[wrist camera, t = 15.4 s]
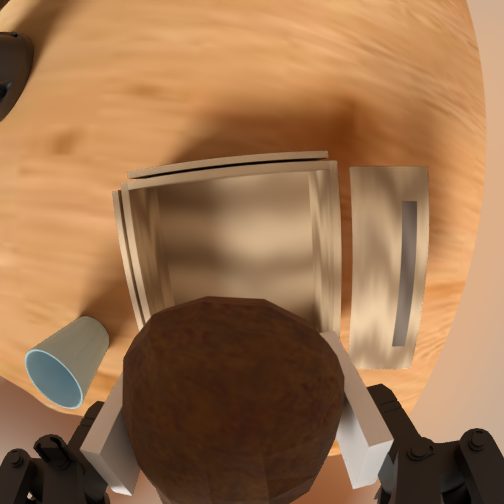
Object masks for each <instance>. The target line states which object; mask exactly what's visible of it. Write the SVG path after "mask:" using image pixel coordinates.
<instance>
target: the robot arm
mask: <svg viewBox="0 0 504 504" xmlns="http://www.w3.org/2000/svg"><path fill="white" fill-rule="evenodd" d="M9 1H10V0H0V11H1V9H2V8H3V7H4V6H5V5H6V4H7V3H8V2H9ZM32 60H33V44H32V42H31V40H30V39H29V38H28V37H26V36H24V35H23V34H21V33H18V32H0V121H1V120H2V119H3V118H4V117H5V116H6V115H7V114H8V112H9V111H10V110H11V108H12V107H13V105H14V104H15V102H16V101H17V99H18V97H19V95H20V93H21V91H22V89H23V87H24V85H25V83H26V80H27V78H28V75H29V72H30V69H31V65H32ZM319 334H320V335H321V336H322V337H323V338H324V339H325V340H326V341H327V342H328V343H329V345H330V346H331V348H332V349H333V351H334V352H335V353H336V355H337V357H338V360H339V362H340V365H341V368H342V371H343V374H344V377H345V380H344V401H343V408H342V413H341V418H340V423H339V426H338V430H337V433H336V437H337V440H338V443H339V447H340V450H341V453H342V456H343V459H344V461H345V465H346V468H347V471H348V474H349V477H350V480H351V483H352V486H353V489H356V488H360V487H363V486H367V485H370V484H374V483H375V481H376V479H377V477H379V480H380V482H381V486H380V488H379V490H378V492H377V493H376V496H375V498H374V499H377V498H378V501H377V504H504V457H503V456H502V454H501V452H500V450H499V448H498V446H497V444H496V443H495V441H494V439H493V437H492V436H491V435H490V433H489V432H488V431H486V430H483V429H479V428H475V429H470V430H468V431H467V432H465V433H464V434H463V436H462V437H461V439H460V440H459V441H452V442H446V443H434V442H433V441H432V440H430V439H427V438H425V437H421V436H420V435H419V434H418V432H417V430H416V429H415V427H414V425H413V424H412V422H411V420H410V419H409V417H408V416H407V414H406V412H405V411H404V409H403V408H402V406H401V404H400V403H399V401H397V398H396V397H395V395H394V393H393V392H392V390H390V389H389V388H387V387H386V386H384V385H383V384H378V385H374V386H370V387H366V386H365V384H364V383H363V381H362V379H361V377H360V375H359V374H358V372H357V370H356V368H355V366H354V365H353V363H352V361H351V359H350V357H349V356H348V354H347V352H346V350H345V349H344V347H343V345H342V343H341V342H340V340H339V338H338V336H337V335H336V333H335V331H331V332H325V333H319ZM122 393H123V372H122V373H121V375H120V377H119V379H118V380H117V382H116V384H115V385H114V387H113V389H112V391H111V393H110V394H109V396H108V398H107V400H106V401H105V402H101V401H97V402H96V403H94V404H93V405H92V406H91V407H90V408H89V409H88V410H87V412H86V414H85V415H84V418H83V419H82V421H81V422H80V425H79V426H78V427H77V429H76V431H75V432H74V434H73V436H72V438H71V440H70V441H69V443H68V445H66V443H65V442H64V440H63V439H62V438H61V437H59V436H58V435H53V434H49V435H45V436H43V437H41V438H39V439H38V440H37V441H36V442H35V445H34V447H33V448H34V449H35V451H36V452H37V453H38V454H39V456H40V457H41V458H42V459H41V458H31V457H30V455H29V454H28V453H27V452H26V451H25V450H23V449H13V450H11V451H10V452H8V453H7V455H6V456H5V458H4V460H3V462H2V464H1V466H0V504H110V499H109V496H108V494H107V493H106V492H105V491H106V488H107V485H109V487H110V488H111V489H112V490H113V491H114V492H118V493H122V494H126V495H131V496H133V492H134V489H135V486H136V482H137V479H138V475H139V472H140V469H141V468H140V467H139V465H138V463H137V460H136V457H135V455H134V452H133V449H132V446H131V443H130V439H129V436H128V433H127V429H126V425H125V420H124V415H123V410H122ZM28 493H30V494H31V495H32V497H31V499H28V498H27V495H28Z"/></svg>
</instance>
